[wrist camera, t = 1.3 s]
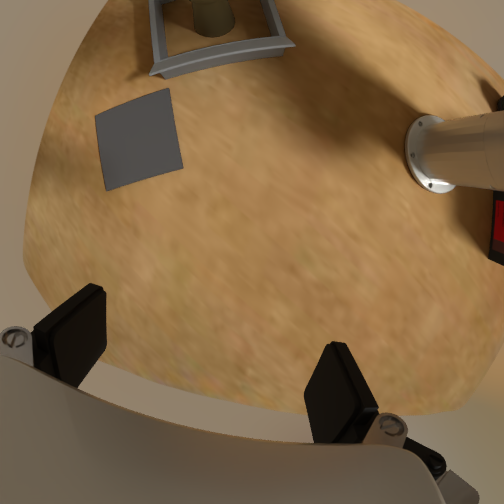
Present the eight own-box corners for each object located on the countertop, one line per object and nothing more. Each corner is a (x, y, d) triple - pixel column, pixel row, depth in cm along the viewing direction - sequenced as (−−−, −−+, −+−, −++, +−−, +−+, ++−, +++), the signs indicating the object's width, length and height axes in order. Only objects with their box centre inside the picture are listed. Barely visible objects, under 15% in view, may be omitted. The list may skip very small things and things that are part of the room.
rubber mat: (169, 88, 31) (168, 88, 31) (183, 168, 34) (182, 168, 34) (96, 116, 32) (95, 115, 31) (107, 190, 35) (106, 191, 34)
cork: (241, 13, 28) (239, -30, 18) (225, 41, 30) (217, -1, 19) (204, 6, 28) (193, -36, 17) (187, 33, 29) (169, -7, 18)
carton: (255, -26, 25) (256, -55, 18) (286, 70, 31) (295, 45, 23) (156, -6, 26) (142, -31, 18) (168, 94, 32) (149, 75, 24)
